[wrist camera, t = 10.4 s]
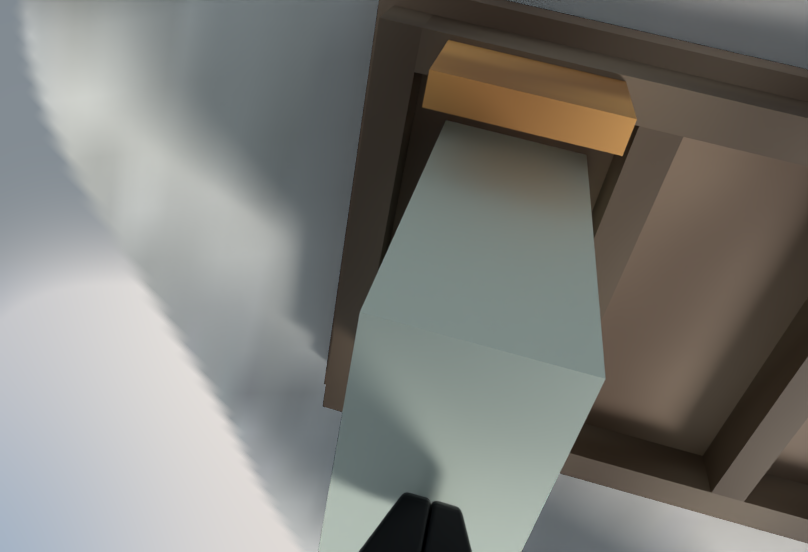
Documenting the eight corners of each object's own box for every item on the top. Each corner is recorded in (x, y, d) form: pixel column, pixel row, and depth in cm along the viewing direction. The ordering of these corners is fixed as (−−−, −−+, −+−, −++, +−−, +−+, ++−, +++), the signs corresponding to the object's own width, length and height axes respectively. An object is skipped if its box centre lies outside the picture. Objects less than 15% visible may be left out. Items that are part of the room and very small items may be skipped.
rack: (1254, 172, 12) (1523, 292, 8) (898, 522, 18) (974, 672, 15) (391, -27, 13) (332, 12, 10) (332, 366, 19) (284, 471, 16)
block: (587, 154, 13) (605, 379, 8) (509, 366, 17) (481, 633, 11) (445, 120, 14) (359, 311, 8) (397, 336, 17) (312, 581, 11)
